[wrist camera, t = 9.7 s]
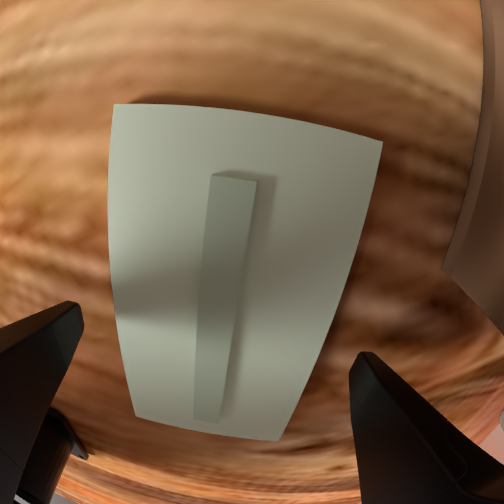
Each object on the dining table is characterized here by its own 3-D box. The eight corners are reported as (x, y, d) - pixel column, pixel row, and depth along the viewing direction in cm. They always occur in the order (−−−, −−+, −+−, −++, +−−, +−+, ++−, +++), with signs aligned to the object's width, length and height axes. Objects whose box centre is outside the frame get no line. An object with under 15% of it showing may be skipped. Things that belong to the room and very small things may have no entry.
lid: (278, 420, 12) (278, 446, 10) (143, 397, 12) (133, 421, 10) (366, 139, 7) (388, 142, 6) (134, 106, 7) (108, 103, 5)
